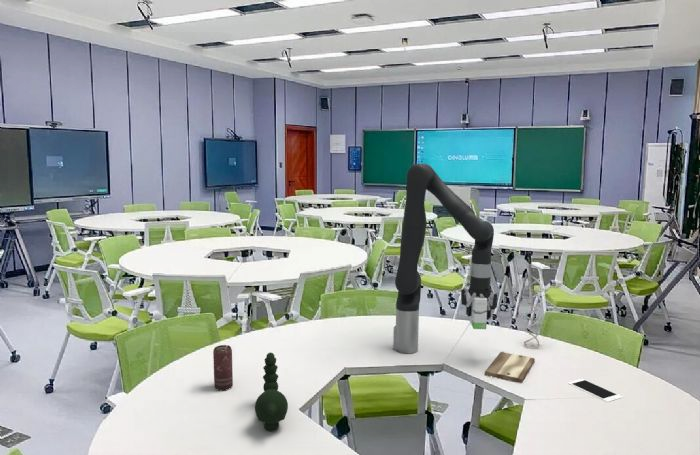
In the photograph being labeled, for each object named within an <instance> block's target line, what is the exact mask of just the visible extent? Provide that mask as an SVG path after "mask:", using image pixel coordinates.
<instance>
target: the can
mask: <svg viewBox="0 0 700 455" xmlns="http://www.w3.org/2000/svg"><path fill="white" fill-rule="evenodd" d="M212 355H213V386H214V389H215V388H216V389H218V390H217V391H219V390H225V391H227V390H226V389H229V388H230V389H232V387H233V386H234V385H233V384H234V382H233V381H234V380H233V377H234V376H233V375H234V374H233V349H232V346H231V345H228V344H226V345H225V344H222V345H216V346H215V347H214V348H213V351H212ZM230 389H229V390H230Z"/></svg>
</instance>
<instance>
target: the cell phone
mask: <svg viewBox="0 0 700 455" xmlns="http://www.w3.org/2000/svg"><path fill="white" fill-rule="evenodd" d="M567 384H568V385H570V386H572V385H573V386H572V387H574V386H575V387H574V388H576V387H577V389H578V388H579V389H578V390H581V391H583V392H586V393H587V394H589V395H591V396H593V397H595V398H597V399H600V400H601V401H604V402H606V403H610V402H613V401H616V400H620V399H623V398H624V396H622V395H621V394H619V393H615V392H613V391H611V390H609V389H607V388H604V387H602V386H600V385H598V384H595V383H594V382H592V381H589V380H587V379H585V378H579V379H575V380H571V381H568V382H567Z"/></svg>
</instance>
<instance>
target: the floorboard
mask: <svg viewBox="0 0 700 455" xmlns="http://www.w3.org/2000/svg"><path fill="white" fill-rule="evenodd" d="M535 360H536V359H535V358H534V357H531V356H527V355H521V354H516V353H509V352H508V353H507V352H502V351H500V352H499V353H498V354H497V356H495V358H494V359H493V360H492V362H491V363H490V364H489V365H488V367H487V368H486V369H485V370H484V376H486V377H490V376H492V377H491V378H495V377H497V378H496V379H499V378H501V379H500V380H504V379H505V381H509V380H510V381H509V382H514V383H518V384H522V383H523V382H524V381H525V379H526V377H527V375H528V373H529V371H530V370H531V369H532V367H533V366H534V364H535Z"/></svg>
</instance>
